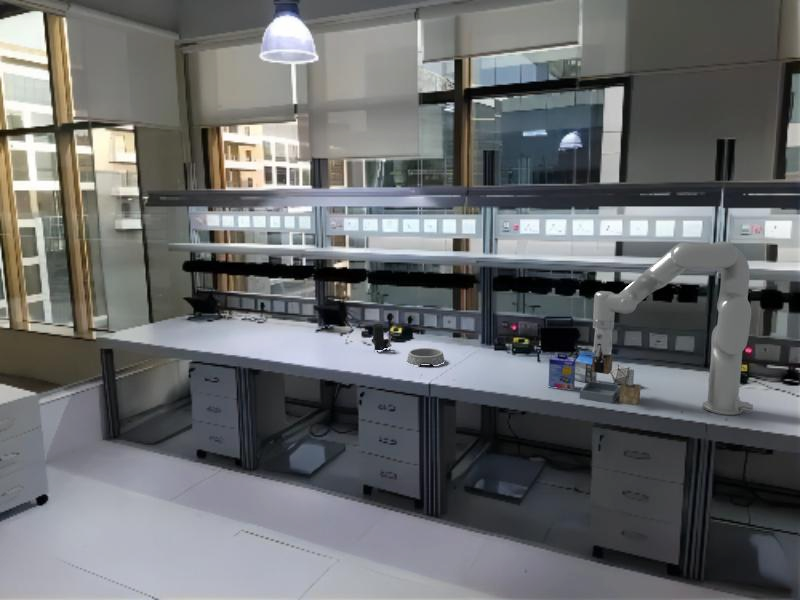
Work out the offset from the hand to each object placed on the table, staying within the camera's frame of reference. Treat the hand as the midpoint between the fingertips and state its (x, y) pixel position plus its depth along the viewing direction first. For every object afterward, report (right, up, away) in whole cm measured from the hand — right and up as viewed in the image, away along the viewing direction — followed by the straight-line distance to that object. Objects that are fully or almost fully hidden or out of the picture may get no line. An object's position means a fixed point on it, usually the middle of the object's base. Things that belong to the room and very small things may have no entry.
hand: (600, 369), depth 223 cm
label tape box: (0, -8, +20) cm, 22 cm away
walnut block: (0, -1, 0) cm, 1 cm away
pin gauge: (+9, -11, -5) cm, 15 cm away
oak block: (+9, -11, -5) cm, 15 cm away
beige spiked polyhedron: (+13, -8, +15) cm, 21 cm away
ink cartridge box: (-12, -9, +13) cm, 19 cm away
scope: (-87, 0, +76) cm, 116 cm away
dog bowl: (-65, -3, +53) cm, 84 cm away
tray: (0, -10, +2) cm, 10 cm away
